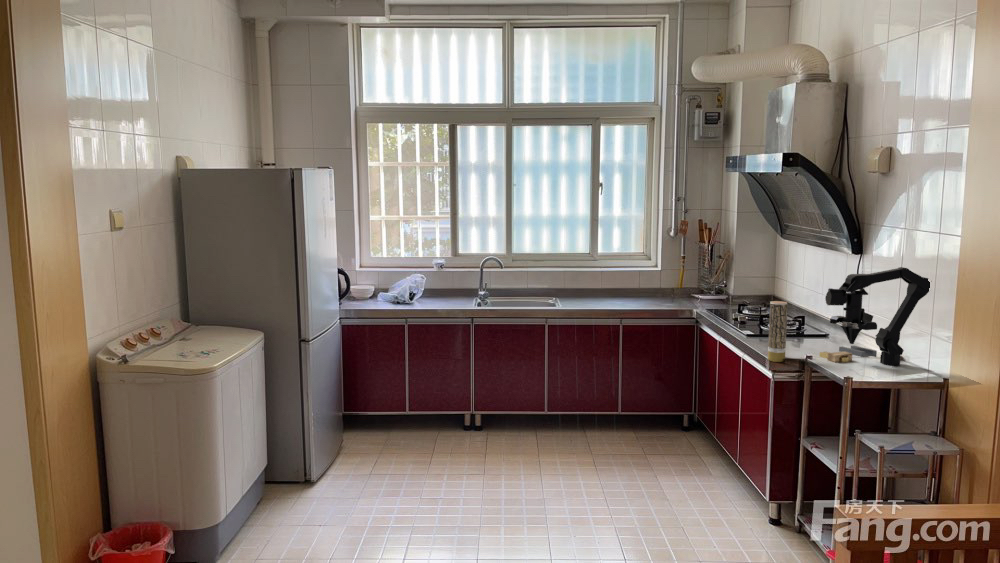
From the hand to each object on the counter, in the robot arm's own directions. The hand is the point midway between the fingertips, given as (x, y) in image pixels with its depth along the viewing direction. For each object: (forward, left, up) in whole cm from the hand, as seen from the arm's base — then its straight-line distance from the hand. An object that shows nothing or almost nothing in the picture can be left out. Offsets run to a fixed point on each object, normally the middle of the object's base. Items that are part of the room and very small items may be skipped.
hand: (851, 343), depth 281 cm
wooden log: (+20, +20, -10) cm, 30 cm away
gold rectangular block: (+9, 0, -8) cm, 12 cm away
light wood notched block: (+6, 0, -10) cm, 11 cm away
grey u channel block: (+15, -19, -10) cm, 26 cm away
